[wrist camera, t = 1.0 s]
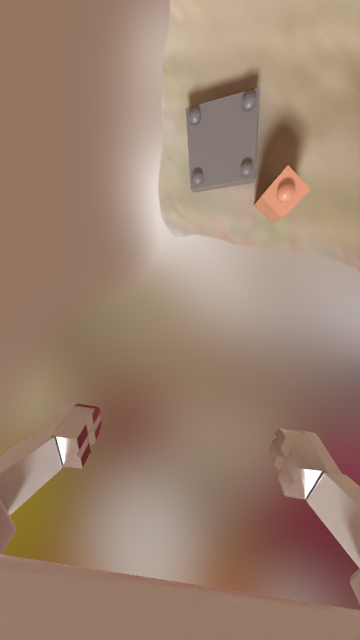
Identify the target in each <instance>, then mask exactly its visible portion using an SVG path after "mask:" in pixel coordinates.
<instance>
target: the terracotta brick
mask: <svg viewBox="0 0 360 640" xmlns="http://www.w3.org/2000/svg"><path fill="white" fill-rule="evenodd" d="M310 190H311V189H310V188H309V186H308V185H307V184H306V183H305V182H304V181H303V180H302V179H301V178H300V177H299V176H298V175H297V174H296V173H295V172H294V171H293V170H292V169H291V168H290V167H289V166H287V167H286V168H285V169H284V170H283V172H282V173H281V174H280V175H279V176H278V177H277V179H276V180H275V181H274V182H273V183H272V184H271V185H270V187H269V188H268V189H267V190H266V191H265V192H264V194H263V195H262V196H261V197H260V198H259V200H258V201H257V202H256V204H255V205H254V206H255V207H256V208H257V209H258V210H259V211H260V212H261V213H262V214H263V215H264V216H265V217H266V218H267V219H268V220H269V221H270V222H273V221H276V220H279V219H282V218H283V217H284V216H285V215H286V214H287V213H288V212H289V211H290V210H291V209H292V208H293V207H294V206H295V205H296V204H297V203H298V202H299V201H300V200H301V199H302V198H303V197H304V196H305V195H306V194H307V193H308V192H309V191H310Z"/></svg>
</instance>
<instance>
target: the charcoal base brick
mask: <svg viewBox="0 0 360 640" xmlns="http://www.w3.org/2000/svg"><path fill="white" fill-rule="evenodd" d="M258 103H259V87H258V88H255V89H251V90H248V91H244V92H241V93H237V94H234V95H230V96H227V97H223V98H220V99H216V100H213V101H209V102H206V103H202V104H199V105H195V106H192V107H188V108H186V115H187V132H188V148H189V165H190V181H191V190H192V191H193V192H200V191H206V190H212V189H218V188H224V187H230V186H236V185H242V184H248V183H253V181H254V179H255V164H256V144H257V123H258Z"/></svg>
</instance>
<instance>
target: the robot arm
mask: <svg viewBox="0 0 360 640" xmlns="http://www.w3.org/2000/svg"><path fill="white" fill-rule="evenodd" d="M99 414H100V408H99V407H97V406H91V405H84V404H77V403H70V402H66V403H65V404H63V405H62V406H61V408H60V409H59V410H58V411H57V413H56V414H55V415H54V416H53V417H52V419H51V420H50V421H49V422H48V424H47V425H46V426H45V427H44V429H43V430H42V431H41V432H40V433H39V435H33V436H32V437H30V438H28V439H27V440H25V441H23V442H22V443H20V444H18V445H17V446H15V447H13V448H12V449H10V450H8V451H7V452H5V453H4V454H1V455H0V640H360V610H354V609H347V608H340V607H335V606H328V605H322V604H315V603H309V602H302V601H296V600H289V599H283V598H276V597H270V596H264V595H257V594H251V593H244V592H238V591H232V590H225V589H219V588H212V587H205V586H199V585H193V584H186V583H180V582H173V581H167V580H161V579H154V578H147V577H142V576H135V575H129V574H122V573H115V572H109V571H103V570H96V569H90V568H84V567H77V566H70V565H64V564H57V563H51V562H45V561H39V560H32V559H26V558H19V557H13V556H6V555H2V553H3V551H4V549H5V548H6V546H7V544H8V543H9V541H10V540H11V538H12V536H13V535H14V533H15V525H14V523H13V522H12V519H11V518H10V514H12V513H13V512H14V511H15V510H16V509H17V508H18V507H20V506H21V505H22V504H23V503H24V502H25V501H26V500H27V499H28V498H29V497H31V496H32V495H33V494H34V493H35V492H36V491H37V490H38V489H39V488H41V487H42V486H43V485H44V484H45V483H46V482H47V481H48V480H49V479H51V477H53V476H54V475H55V474H56V473H57V472H58V471H59V470H60V469H61V468H62V466H64V467H74V468H83V466H84V464H85V463H86V461H87V459H88V456H89V455H90V453H91V450H90V446H91V445H92V444H93V443H95V442H96V440H97V438H98V436H99V434H100V430H101V424H102V422H101V418H100V417H99ZM275 435H276V439H274V440H273V441H272V443H271V445H270V453H271V458H272V461H273V464H274V466H275V467H276V468H277V469H278V470H279V475H278V479H279V481H280V484H281V487H282V490H283V493H284V495H285V496H289V497H294V498H301V499H306V500H307V502H308V504H309V505H310V506H311V507H312V509H313V510H314V511H315V512H316V514H317V515H318V516H319V518H321V520H322V521H323V523H324V524H325V525H326V526H327V528H328V529H329V530H330V531H331V533H332V534H333V535H334V536H335V538H336V539H337V540H338V541H339V543H340V544H341V545H342V546H343V548H344V549H345V550H346V552H347V553H348V554H349V555H350V557H351V558H352V559H353V560H354V562H355V563H356V564H357V566H358V567H359V568H360V487H359V486H358V485H357V484H356V483H355V482H353V481H352V480H351V479H350V478H349V477H347V475H342V473H341V472H340V470H339V469H338V467H337V465H336V464H335V462H334V461H333V459H332V458H331V456H330V455H329V453H328V451H327V450H326V448H325V447H324V445H323V443H322V442H321V440H320V439H319V437H318V436H317V435H316V434H315V433H312V432H304V431H298V430H289V429H277V430H276V432H275ZM350 584H351V586H352V588H353V590H354V592H355V595H356V597H357V599H358V601H359V604H360V569H359V570H358V571H357V572H355V573H354V574H353V575H352V576H351V579H350Z"/></svg>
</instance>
